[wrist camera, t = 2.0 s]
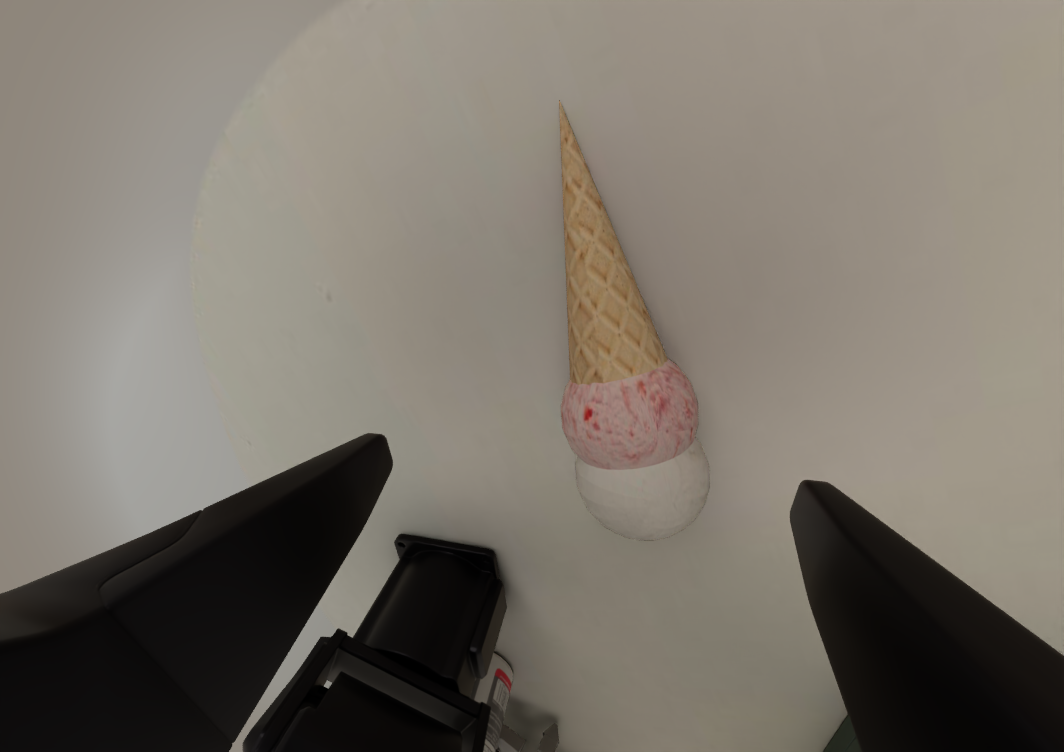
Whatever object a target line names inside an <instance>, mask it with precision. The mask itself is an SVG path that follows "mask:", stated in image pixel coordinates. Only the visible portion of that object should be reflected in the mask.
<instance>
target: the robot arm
mask: <svg viewBox="0 0 1064 752" xmlns="http://www.w3.org/2000/svg"><path fill="white" fill-rule="evenodd" d="M392 467H393V460H392V456H391V453H390V449H389V446H388V442H387V439H386V437H385V436H384V435H382V434H374V433H367V434H364V435H362V436H360V437H358V438H356V439H353V440H351V441H349V442H347V443H345V444H343V445H340V446H338V447H336V448H334V449H332V450H330V451H327V452H325V453H323V454H321V455H319V456H317V457H314V458H312V459H310V460H308V461H306V462H304V463H301V464H299V465H297V466H295V467H293V468H291V469H288V470H286V471H284V472H282V473H280V474H278V475H275V476H273V477H271V478H269V479H267V480H265V481H262V482H260V483H258V484H256V485H254V486H252V487H249V488H247V489H245V490H243V491H241V492H239V493H236V494H234V495H232V496H230V497H228V498H226V499H223V500H221V501H219V502H217V503H215V504H213V505H210V506H208V507H206V508H204V510H203V511H202V510H199V511H197V512H195V513H193V514H191V515H189V516H186V517H184V518H182V519H180V520H178V521H175V522H173V523H171V524H169V525H166V526H164V527H162V528H160V529H158V530H155V531H153V532H151V533H149V534H146V535H144V536H142V537H139V538H137V539H134V540H132V541H130V542H127V543H125V544H123V545H120V546H118V547H116V548H113V549H111V550H108V551H106V552H104V553H101V554H99V555H96V556H94V557H91V558H89V559H87V560H84V561H82V562H79V563H77V564H74V565H72V566H70V567H67V568H65V569H63V570H60V571H57V572H55V573H53V574H50V575H48V576H45V577H43V578H41V579H38V580H36V581H33V582H31V583H28V584H26V585H23V586H21V587H18V588H16V589H13V590H10V591H7V592H5V593H1V594H0V752H229V750H230V749H231V747H232V743H233V742H235V740H236V738H237V737H238V735H239V733H240V732H241V730H242V728H243V727H244V725H245V724H246V722H247V720H248V718H249V717H250V715H251V713H252V712H253V710H254V709H255V707H256V705H257V703H258V702H259V700H260V699H261V697H262V695H263V694H264V692H265V690H266V689H267V687H268V685H269V684H270V682H271V680H272V679H273V677H274V675H275V674H276V672H277V670H278V669H279V667H280V666H281V664H282V662H283V661H284V659H285V657H286V656H287V654H288V652H289V651H290V649H291V647H292V646H293V644H294V642H295V641H296V639H297V637H298V636H299V634H300V632H301V631H302V629H303V628H304V626H305V624H306V623H307V621H308V619H309V618H310V616H311V614H312V613H313V611H314V609H315V608H316V606H317V604H318V603H319V601H320V599H321V598H322V596H323V595H324V593H325V591H326V590H327V588H328V586H329V585H330V583H331V581H332V580H333V578H334V576H335V575H336V573H337V571H338V570H339V568H340V566H341V565H342V563H343V561H344V560H345V558H346V556H347V555H348V553H349V552H350V550H351V548H352V547H353V545H354V543H355V542H356V540H357V538H358V537H359V535H360V533H361V531H362V530H363V528H364V526H365V524H366V522H367V520H368V518H369V517H370V514H371V512H372V510H373V508H374V506H375V504H376V502H377V500H378V498H379V496H380V494H381V492H382V489H383V487H384V485H385V483H386V481H387V479H388V477H389V475H390V473H391V470H392ZM790 523H791V527H792V532H793V536H794V541H795V545H796V549H797V554H798V558H799V562H800V567H801V571H802V575H803V580H804V584H805V588H806V592H807V596H808V600H809V603H810V606H811V610H812V613H813V616H814V619H815V621H816V624H817V627H818V630H819V633H820V636H821V638H822V641H823V644H824V647H825V650H826V653H827V655H828V658H829V661H830V664H831V667H832V670H833V672H834V675H835V678H836V681H837V684H838V687H839V690H840V692H841V695H842V698H843V701H844V704H845V707H846V709H847V712H848V715H849V718H850V721H851V724H852V726H853V729H854V732H855V735H856V738H857V741H858V743H859V746H860V749H861V752H1064V656H1063V655H1062V654H1061V653H1059V652H1058V651H1056V650H1055V649H1054V648H1052V647H1051V646H1050V645H1048V644H1047V643H1046V642H1044V641H1043V640H1042V639H1040V638H1039V637H1038V636H1036V635H1035V634H1033V633H1032V632H1031V631H1029V630H1028V629H1027V628H1025V627H1024V626H1023V625H1021V624H1020V623H1019V622H1017V621H1016V620H1014V619H1013V618H1012V617H1010V616H1009V615H1008V614H1006V613H1005V612H1004V611H1002V610H1001V609H1000V608H998V607H997V606H995V605H994V604H993V603H991V602H990V601H989V600H987V599H986V598H985V597H983V596H982V595H981V594H979V593H978V592H977V591H975V590H974V589H972V588H971V587H970V586H968V585H967V584H966V583H964V582H963V581H962V580H960V579H959V578H958V577H956V576H955V575H953V574H952V573H951V572H949V571H948V570H947V569H945V568H944V567H943V566H941V565H940V564H939V563H937V562H936V561H935V560H933V559H932V558H930V557H929V556H928V555H926V554H925V553H924V552H922V551H921V550H920V549H918V548H917V547H916V546H914V545H913V544H911V543H910V542H909V541H907V540H906V539H905V538H903V537H902V536H901V535H899V534H898V533H897V532H895V531H894V530H892V529H891V528H890V527H888V526H887V525H886V524H884V523H883V522H882V521H880V520H879V519H878V518H876V517H875V516H874V515H872V514H871V513H869V512H868V511H867V510H865V509H864V508H863V507H861V506H860V505H859V504H857V503H856V502H855V501H853V500H852V499H850V498H849V497H848V496H846V495H845V494H844V493H842V492H841V491H840V490H838V489H837V488H836V487H834V486H833V485H831V484H830V483H828V482H823V481H813V480H804V481H802V482H801V483H800V485H799V487H798V490H797V493H796V496H795V499H794V502H793V505H792V507H791V511H790ZM394 543H395V546H396V550H397V553H398V556H399V559H400V560H399V562H398V563H397V565H396V567H395V568H394V570H393V572H392V573H391V575H390V577H389V578H388V580H387V582H386V583H385V585H384V587H383V588H382V590H381V592H380V593H379V595H378V597H377V598H376V600H375V602H374V603H373V605H372V607H371V608H370V610H369V612H368V613H367V615H366V617H365V618H364V620H363V622H362V623H361V625H360V627H359V628H358V630H357V632H356V633H355V635H354V637H353V638H352V637H350V636H348V635H347V632H345V631H343V630H341V629H339V628H338V629H337V630H336V632H335V633H334V635H333V636H332V637H320V639H319V640H318V642H317V643H316V645H315V646H314V648H313V649H312V651H311V652H310V654H309V655H308V657H307V659H306V660H305V661H304V663H303V664H302V666H301V667H300V669H299V670H298V671H297V673H296V674H295V675H294V677H293V678H292V679H291V681H290V682H289V683H288V684H287V685H286V687H285V688H284V689H283V690H282V692H281V693H280V694H279V696H278V697H277V698H276V699H275V700H274V702H273V703H272V705H270V707H269V708H268V709H267V710H266V712H265V713H264V714H263V715H262V717H261V718H260V719H259V720H258V722H257V723H256V724H255V725H254V727H253V728H252V729H251V731H250V732H249V734H248V735H247V737H246V738H245V740H244V742H243V752H483V751H484V745H485V740H486V734H487V729H488V723H489V717H490V712H491V706H490V705H488V704H486V703H484V702H482V701H481V702H480V703H479V702H477V701H475V700H473V699H471V698H470V695H471V692H472V688H473V685H474V682H475V679H476V678H479V679H483V678H484V677H485V676H486V675H487V673H488V669H489V666H490V663H491V659H492V656H493V653H494V649H495V646H496V642H497V639H498V636H499V632H500V629H501V626H502V622H503V619H504V615H505V612H506V609H507V605H506V598H505V592H504V585H503V582H502V581H501V579H500V577H499V571H498V564H497V558H496V554H495V553H494V552H493V551H492V550H490V549H487V548H481V547H476V546H470V545H464V544H458V543H452V542H446V541H441V540H435V539H429V538H423V537H417V536H411V535H406V534H400V535H398V537H397V538H396V540H395V542H394ZM327 680H328V681H330V682H332V685H331V686H330V688H329V689H328V688H326V687H324V684H325V683H326V681H327Z"/></svg>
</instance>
